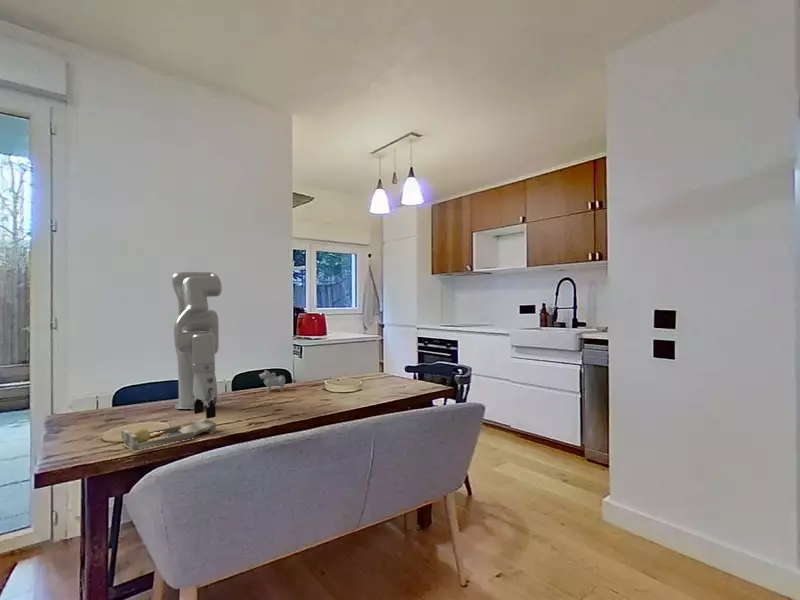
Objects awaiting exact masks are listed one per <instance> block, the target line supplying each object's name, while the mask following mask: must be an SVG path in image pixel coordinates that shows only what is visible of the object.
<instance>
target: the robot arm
mask: <svg viewBox="0 0 800 600" xmlns="http://www.w3.org/2000/svg"><path fill="white" fill-rule="evenodd" d="M219 277H220V276H218V275H217V274H216V273H215V272H213V271H212V272H209V271H208V272H207V271H205V272H204V271H203V272H202V271H200V272H199V271H181V272H176V273H174V274H173V275H172V277H171V282H172V283H171V284H172V288H173V290H174V293H175V295H176V297H177V301H178V302H177V303H178V317H177V319H176V320H175V323H174V326H173V335H174V336H173V339H174V347H175V353H176V356H177V357H176V358H177V359H176V360H177V373H178V376H177V377H178V381H177V382H178V403H177V404H175V405H174V409H175V410H178V409H191V410H193V414H195V415H197V414H201V413H203V414H204V412H205V419H207V420H208V419H213V418H215V417H216V407H217V399H218V385H217V377H216V354H217V353H218V352H219V346H220V345H219V343H220V342H219V341H220V340H219V338H220V336H219V335H220V333H219V332H220V331H219V330H220V329H219V326H220V325H219V316H218V314H217V311H215V310H213V309H209V302H208V298H209V297H210V298H211V297H212V298H213V297H214V298H216V297H219V296H221V294H222V289H223V286H222V282H221V279H220V278H219ZM204 407H205V410H204Z"/></svg>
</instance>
